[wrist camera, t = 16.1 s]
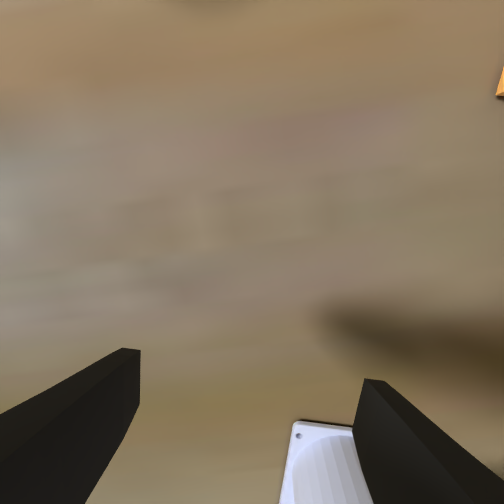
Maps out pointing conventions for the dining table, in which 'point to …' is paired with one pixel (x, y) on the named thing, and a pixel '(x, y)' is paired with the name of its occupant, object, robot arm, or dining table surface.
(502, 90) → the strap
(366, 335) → the dining table surface
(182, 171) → the dining table surface
